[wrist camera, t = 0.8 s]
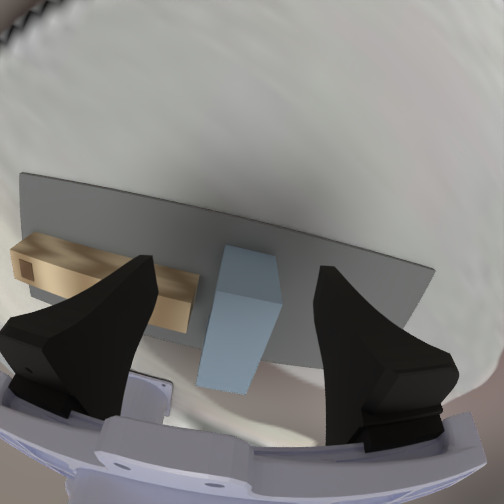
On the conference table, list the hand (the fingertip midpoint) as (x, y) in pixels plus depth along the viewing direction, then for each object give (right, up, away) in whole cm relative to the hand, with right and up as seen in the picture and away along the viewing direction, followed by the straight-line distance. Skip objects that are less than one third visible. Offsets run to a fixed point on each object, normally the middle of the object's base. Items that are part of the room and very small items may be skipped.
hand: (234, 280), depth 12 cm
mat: (-3, -2, +13) cm, 13 cm away
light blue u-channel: (0, -3, +12) cm, 13 cm away
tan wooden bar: (-12, 0, +11) cm, 16 cm away
